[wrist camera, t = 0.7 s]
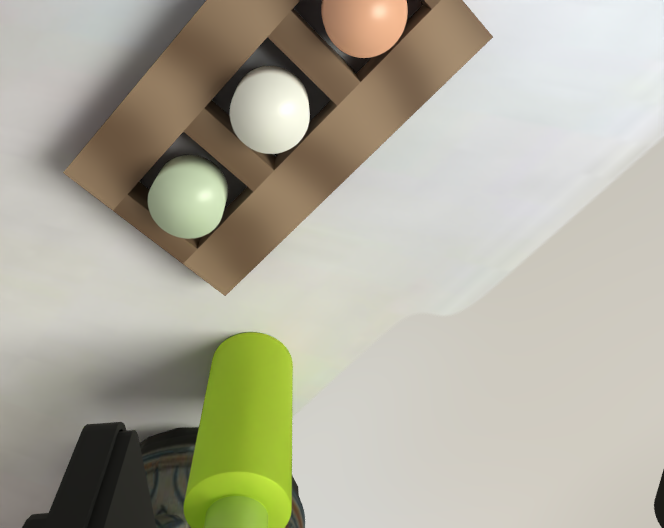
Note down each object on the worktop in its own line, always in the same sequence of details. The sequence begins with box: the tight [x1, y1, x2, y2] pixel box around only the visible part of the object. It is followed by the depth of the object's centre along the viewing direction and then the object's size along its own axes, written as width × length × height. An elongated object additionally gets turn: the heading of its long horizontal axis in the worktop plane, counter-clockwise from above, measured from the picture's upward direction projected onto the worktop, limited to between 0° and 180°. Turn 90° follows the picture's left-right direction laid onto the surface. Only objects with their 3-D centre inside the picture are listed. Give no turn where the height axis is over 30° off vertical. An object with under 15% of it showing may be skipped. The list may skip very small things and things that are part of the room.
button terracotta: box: [321, 0, 408, 58], centre depth 32 cm, size 4×4×2 cm
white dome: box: [230, 66, 310, 154], centre depth 34 cm, size 4×4×2 cm
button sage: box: [148, 155, 228, 239], centre depth 36 cm, size 4×4×2 cm
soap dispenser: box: [184, 332, 293, 528], centre depth 37 cm, size 6×7×20 cm
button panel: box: [63, 0, 493, 296], centre depth 35 cm, size 22×12×2 cm, turn 135°
